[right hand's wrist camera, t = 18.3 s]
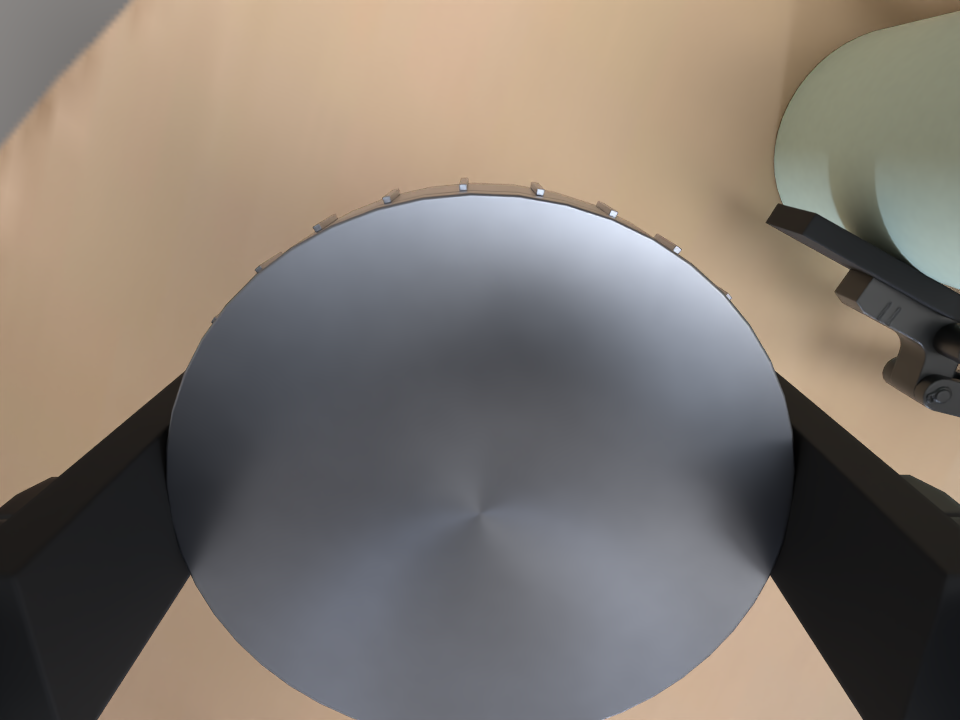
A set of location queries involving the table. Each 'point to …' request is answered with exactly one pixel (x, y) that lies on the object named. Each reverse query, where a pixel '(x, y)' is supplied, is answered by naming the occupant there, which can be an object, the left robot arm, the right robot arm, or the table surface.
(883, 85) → the jar
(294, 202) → the table surface
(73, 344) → the table surface
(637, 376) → the lid
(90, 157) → the table surface
